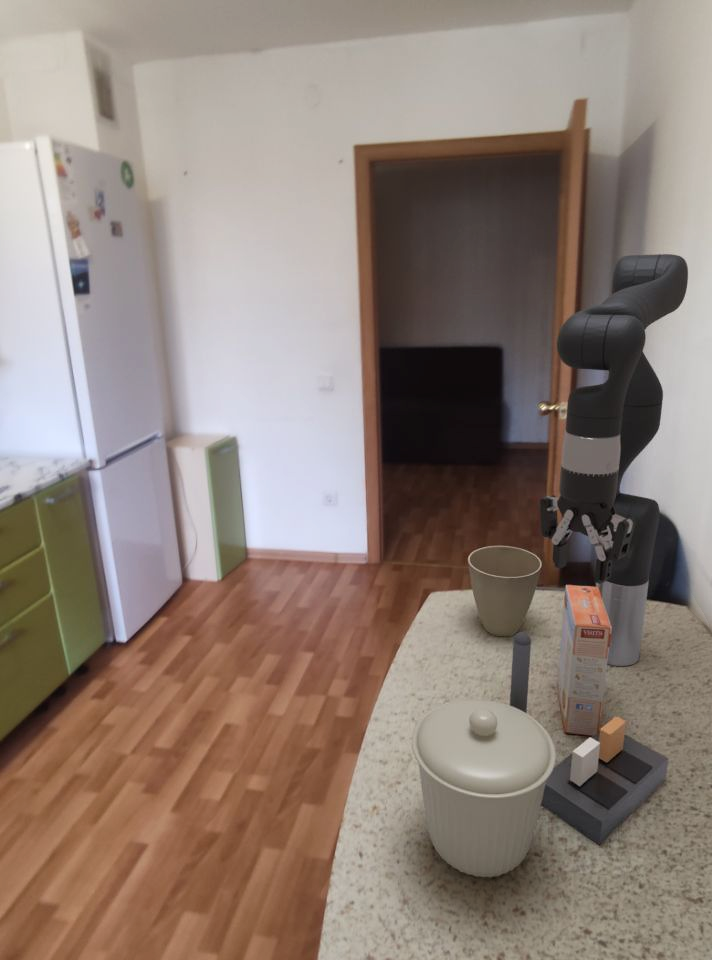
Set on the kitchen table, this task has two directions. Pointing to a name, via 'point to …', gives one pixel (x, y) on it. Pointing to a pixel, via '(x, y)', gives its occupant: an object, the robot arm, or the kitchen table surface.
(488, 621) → the plant pot
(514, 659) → the stand
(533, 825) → the canister
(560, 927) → the kitchen table surface
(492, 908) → the kitchen table surface
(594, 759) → the white rectangular block
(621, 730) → the block
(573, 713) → the cracker box
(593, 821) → the panel
